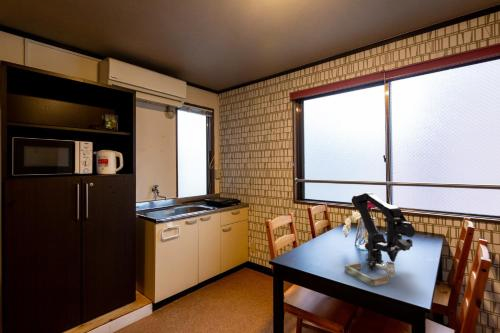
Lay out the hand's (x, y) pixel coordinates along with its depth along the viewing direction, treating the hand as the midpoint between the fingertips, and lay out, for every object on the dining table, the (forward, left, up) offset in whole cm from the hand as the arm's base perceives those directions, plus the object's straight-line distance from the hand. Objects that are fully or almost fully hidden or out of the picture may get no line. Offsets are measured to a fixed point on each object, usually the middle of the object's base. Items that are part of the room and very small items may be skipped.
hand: (392, 261), depth 126 cm
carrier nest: (0, -19, -4) cm, 19 cm away
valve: (+1, -8, -5) cm, 10 cm away
